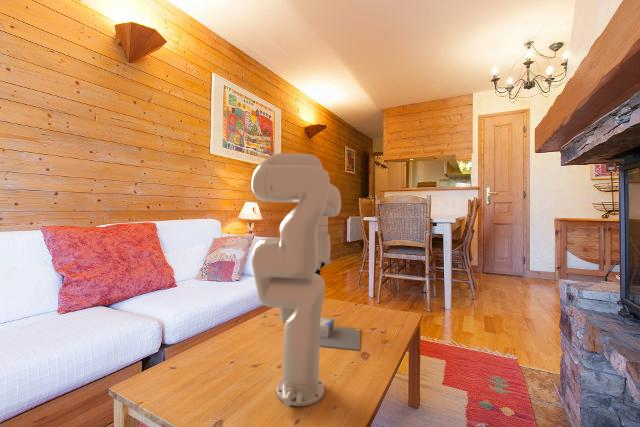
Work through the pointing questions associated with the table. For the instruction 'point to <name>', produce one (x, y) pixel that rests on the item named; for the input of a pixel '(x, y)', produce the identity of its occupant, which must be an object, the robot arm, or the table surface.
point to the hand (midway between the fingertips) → (315, 279)
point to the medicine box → (326, 327)
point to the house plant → (285, 313)
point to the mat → (342, 339)
